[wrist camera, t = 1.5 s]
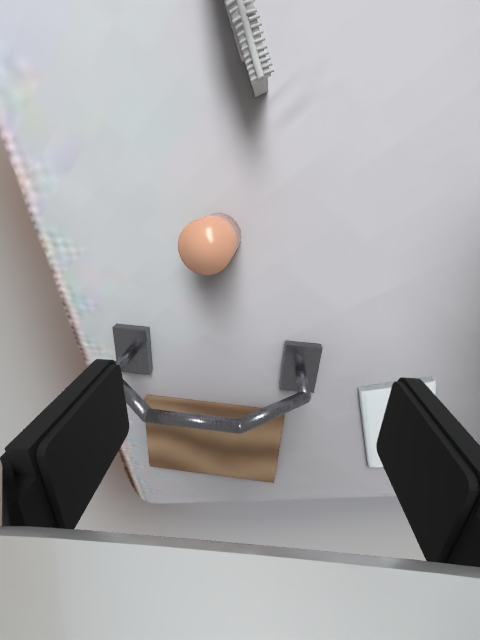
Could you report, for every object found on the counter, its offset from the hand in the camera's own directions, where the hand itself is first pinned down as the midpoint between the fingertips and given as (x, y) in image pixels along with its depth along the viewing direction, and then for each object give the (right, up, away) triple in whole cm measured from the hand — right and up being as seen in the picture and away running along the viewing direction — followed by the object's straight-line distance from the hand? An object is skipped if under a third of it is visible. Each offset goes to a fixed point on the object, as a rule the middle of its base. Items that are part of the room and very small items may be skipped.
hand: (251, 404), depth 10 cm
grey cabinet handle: (-3, -1, +25) cm, 25 cm away
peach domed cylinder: (-3, +11, +20) cm, 23 cm away
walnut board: (-4, -13, +30) cm, 33 cm away
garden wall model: (-1, +27, +13) cm, 30 cm away
